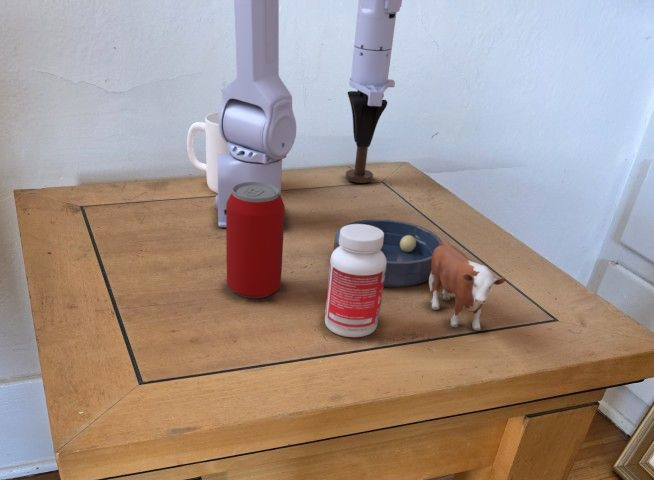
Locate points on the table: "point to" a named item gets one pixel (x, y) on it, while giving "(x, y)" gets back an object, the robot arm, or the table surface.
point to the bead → (408, 243)
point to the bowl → (401, 264)
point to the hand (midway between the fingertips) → (361, 144)
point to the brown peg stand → (360, 168)
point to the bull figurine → (460, 282)
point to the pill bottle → (356, 281)
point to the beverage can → (254, 239)
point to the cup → (208, 148)
